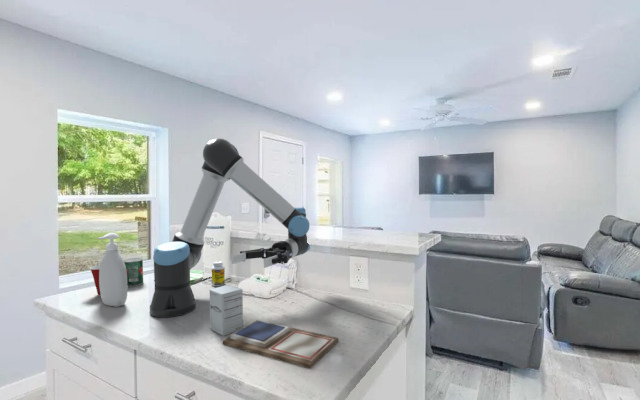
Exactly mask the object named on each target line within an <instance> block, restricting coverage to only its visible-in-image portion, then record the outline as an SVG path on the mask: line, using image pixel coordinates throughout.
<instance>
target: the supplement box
mask: <svg viewBox="0 0 640 400" xmlns="http://www.w3.org/2000/svg"><path fill="white" fill-rule="evenodd" d="M243 298H244V297H243V288H241V287H237V286H234V285H231V284H224V285H222V286H216V287H214V288H213V287H212V288H210V289H209V324H210V325H209V327H210V328H209V329H210V330H211V331H213V332H215V333H217V334H219V335H221V336H222V337H224V336H227V335H231V334H233V333H235V332H236V331H238V330H240V329H242V328H244V315H243V314H244V312H243V311H244V310H243V308H244V307H243V306H244V304H243V301H244V300H243Z"/></svg>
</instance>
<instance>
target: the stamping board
mask: <svg viewBox="0 0 640 400" xmlns="http://www.w3.org/2000/svg"><path fill="white" fill-rule="evenodd" d="M338 343H339V337H335V336H331V335H326V334H322V333H318V332H314V331H308V330H304V329H299V328H295V327H290V326H286V325H281V324H276V323H272V322H267V321H263V320H259V319H256V320H254V321H253V322H251V323H250V324H248V325H245V326H243V328H242V329H240V330H238V331H236V332H233V333H230V334H229V336H228V337H227V338H225V339H223V340H222V345H225V346H228V347H230V348H231V347H232V348H235V349H239V350H242V351H246V352H250V353H253V354H257V355H260V356H264V357H268V358H271V359H274V360H278V361H281V362H285V363H289V364H293V365H296V366H300V367H303V368H307V369H311V368H312V367H313V366H315V365H316V364H317V363H318V362H319V361H320V359H322V358H323V357H324V356H325V355H326V354H327V353H328V352H329V351H330V350H331V349H332V348H333V347H334V346H335V345H337V344H338Z"/></svg>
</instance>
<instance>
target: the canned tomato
mask: <svg viewBox="0 0 640 400" xmlns="http://www.w3.org/2000/svg"><path fill="white" fill-rule="evenodd" d="M123 260H124V263H125V266H126V272H127V287H136V286H137V287H138V286H141V285H143V284H144V268H143V267H144V266H143V265H144V264H143V263H144V262H143V258H141V257H140V258H139V257H137V258H135V257H134V258H128V259H123Z"/></svg>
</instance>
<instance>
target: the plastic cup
mask: <svg viewBox="0 0 640 400" xmlns="http://www.w3.org/2000/svg"><path fill="white" fill-rule="evenodd" d="M89 270H90V272H91V274H92V277H93V282H94V286H95V288H96V293H97V295H98V296H99V297H101V295H100V287H99V270H100V265H99V264H98V265H94V266H90V267H89Z"/></svg>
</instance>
